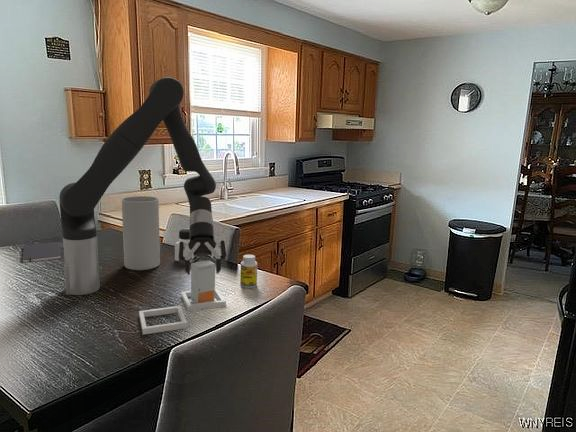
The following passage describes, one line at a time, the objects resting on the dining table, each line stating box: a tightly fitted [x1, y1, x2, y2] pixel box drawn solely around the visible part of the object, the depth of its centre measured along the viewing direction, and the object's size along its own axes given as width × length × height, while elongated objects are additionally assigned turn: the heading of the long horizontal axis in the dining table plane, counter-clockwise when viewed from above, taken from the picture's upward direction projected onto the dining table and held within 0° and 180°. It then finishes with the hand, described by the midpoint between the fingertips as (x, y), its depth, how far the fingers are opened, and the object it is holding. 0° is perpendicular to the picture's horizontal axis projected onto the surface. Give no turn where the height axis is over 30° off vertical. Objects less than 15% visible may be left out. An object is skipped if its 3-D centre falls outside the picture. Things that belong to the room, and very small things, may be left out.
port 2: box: [180, 287, 227, 312], centre depth 125 cm, size 11×13×2 cm
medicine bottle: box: [174, 228, 200, 263], centre depth 162 cm, size 7×7×12 cm
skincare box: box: [190, 259, 216, 304], centre depth 123 cm, size 6×4×12 cm
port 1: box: [138, 305, 188, 336], centre depth 111 cm, size 11×13×2 cm
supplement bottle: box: [239, 254, 258, 289], centre depth 138 cm, size 6×6×10 cm
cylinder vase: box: [121, 195, 161, 271], centre depth 151 cm, size 12×12×25 cm
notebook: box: [21, 241, 63, 263], centre depth 164 cm, size 13×2×21 cm
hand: (203, 273), depth 124 cm, fingers open, 8 cm apart
